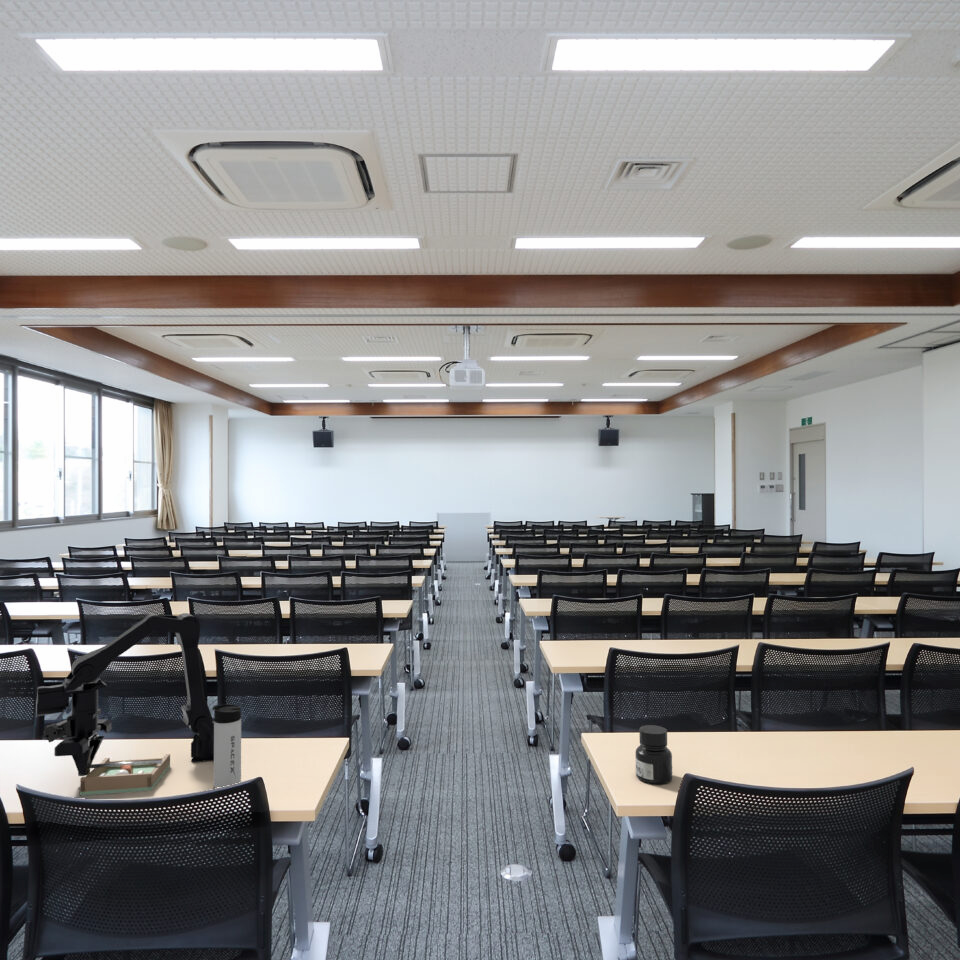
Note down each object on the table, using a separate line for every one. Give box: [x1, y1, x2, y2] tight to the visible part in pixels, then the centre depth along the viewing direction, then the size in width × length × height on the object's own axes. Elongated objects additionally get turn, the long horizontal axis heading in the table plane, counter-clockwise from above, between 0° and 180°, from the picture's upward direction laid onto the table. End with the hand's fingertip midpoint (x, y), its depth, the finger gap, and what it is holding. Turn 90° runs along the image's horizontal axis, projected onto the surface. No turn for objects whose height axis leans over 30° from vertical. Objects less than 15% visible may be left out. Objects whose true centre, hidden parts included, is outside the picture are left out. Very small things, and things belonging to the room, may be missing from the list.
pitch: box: [79, 753, 171, 796], centre depth 169 cm, size 16×15×4 cm
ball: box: [115, 770, 129, 775], centre depth 165 cm, size 3×3×3 cm
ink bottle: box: [635, 724, 673, 785], centre depth 168 cm, size 10×9×12 cm
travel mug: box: [212, 704, 242, 789], centre depth 164 cm, size 6×7×20 cm
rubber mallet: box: [77, 759, 162, 777], centre depth 169 cm, size 20×3×6 cm, turn 99°
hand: (84, 771), depth 167 cm, fingers closed on rubber mallet, 3 cm apart
